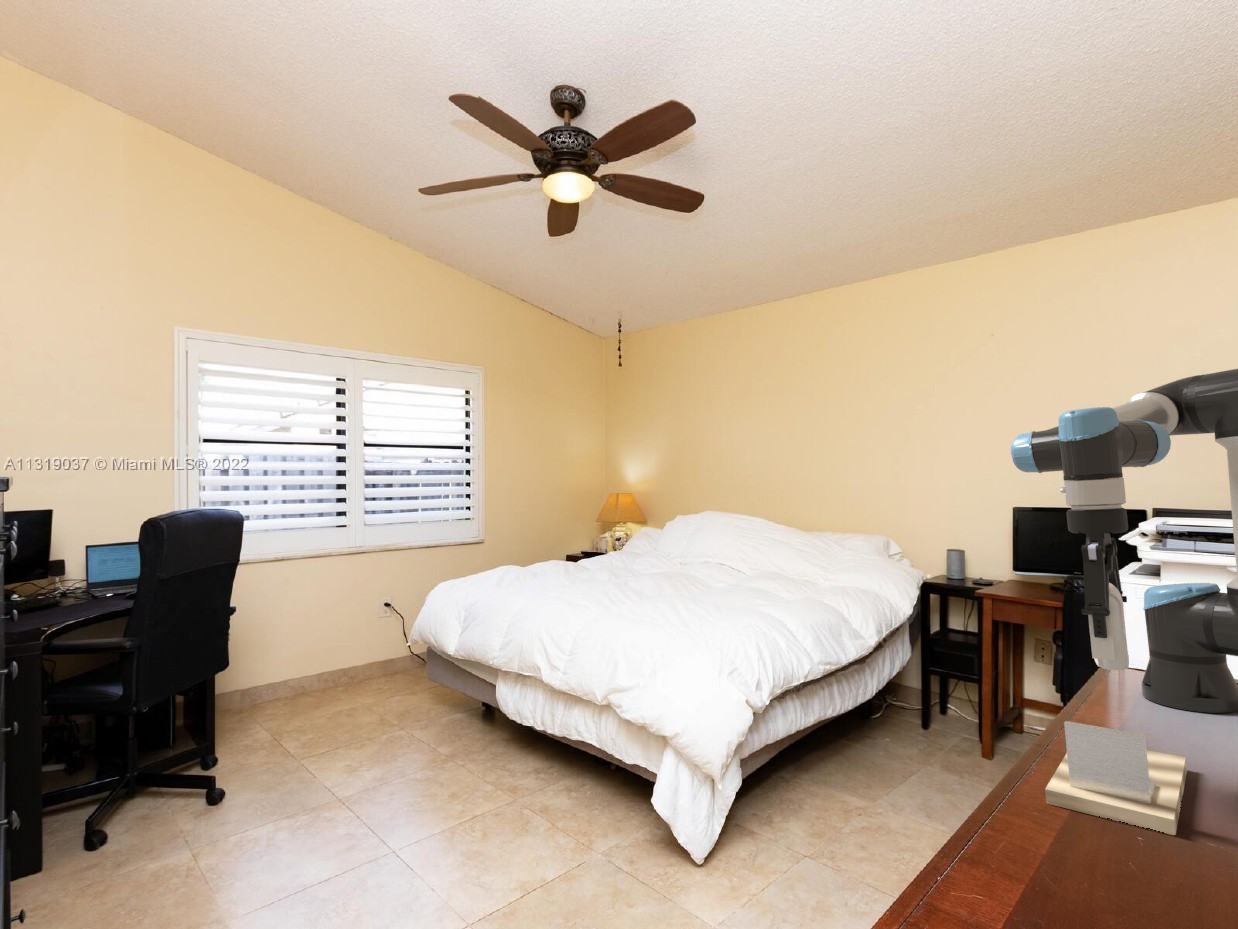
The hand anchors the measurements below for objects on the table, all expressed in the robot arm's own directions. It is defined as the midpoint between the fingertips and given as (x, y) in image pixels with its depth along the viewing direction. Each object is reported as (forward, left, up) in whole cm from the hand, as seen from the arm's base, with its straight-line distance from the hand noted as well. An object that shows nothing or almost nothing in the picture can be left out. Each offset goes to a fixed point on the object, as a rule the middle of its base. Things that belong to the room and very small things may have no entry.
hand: (1109, 651), depth 98 cm
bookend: (+8, +3, -17) cm, 19 cm away
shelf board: (+3, +1, -19) cm, 20 cm away
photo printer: (0, 0, -2) cm, 2 cm away
